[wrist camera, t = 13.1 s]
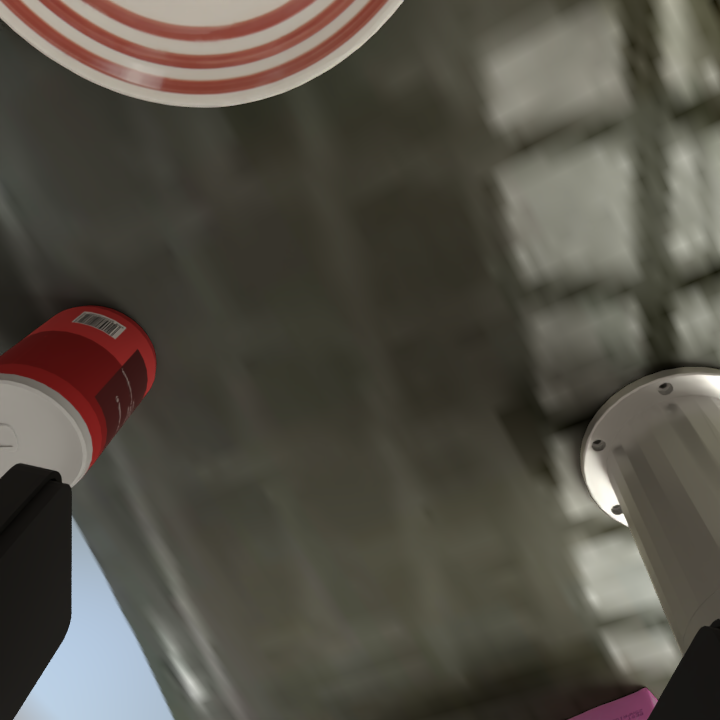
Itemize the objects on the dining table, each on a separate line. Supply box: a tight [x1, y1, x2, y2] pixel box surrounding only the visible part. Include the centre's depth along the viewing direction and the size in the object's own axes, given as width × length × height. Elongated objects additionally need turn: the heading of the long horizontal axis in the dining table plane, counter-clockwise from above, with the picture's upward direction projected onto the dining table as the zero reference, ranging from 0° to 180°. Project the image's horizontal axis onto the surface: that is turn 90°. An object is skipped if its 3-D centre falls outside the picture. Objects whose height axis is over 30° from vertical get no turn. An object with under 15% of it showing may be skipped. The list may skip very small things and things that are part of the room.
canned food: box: [0, 305, 156, 487], centre depth 40 cm, size 8×8×11 cm
